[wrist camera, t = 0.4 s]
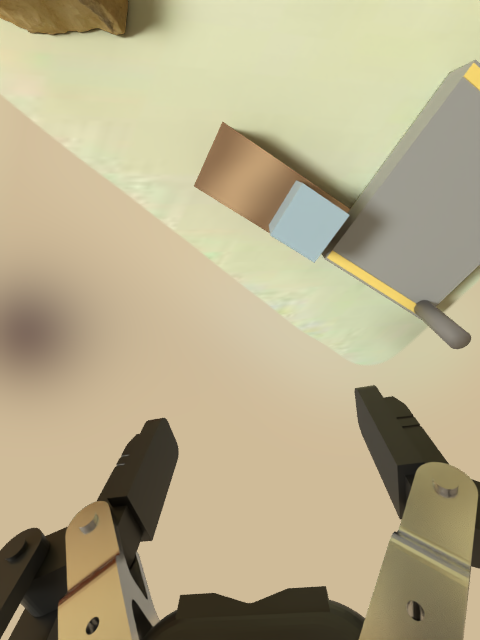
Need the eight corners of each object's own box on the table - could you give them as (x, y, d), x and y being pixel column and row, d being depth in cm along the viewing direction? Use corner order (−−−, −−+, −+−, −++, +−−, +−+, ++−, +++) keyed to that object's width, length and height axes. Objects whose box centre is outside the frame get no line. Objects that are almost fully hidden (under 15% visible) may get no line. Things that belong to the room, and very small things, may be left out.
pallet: (202, 183, 27) (193, 186, 23) (227, 127, 24) (222, 121, 21) (306, 248, 29) (313, 260, 26) (338, 203, 27) (350, 209, 23)
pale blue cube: (268, 225, 24) (270, 235, 21) (296, 180, 23) (302, 183, 19) (306, 249, 25) (314, 262, 22) (336, 207, 23) (349, 215, 20)
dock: (449, 72, 22) (557, 19, 14) (551, 162, 24) (694, 160, 16) (319, 250, 29) (341, 283, 21) (408, 306, 31) (458, 354, 23)
